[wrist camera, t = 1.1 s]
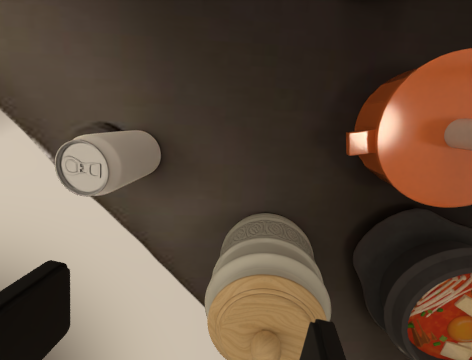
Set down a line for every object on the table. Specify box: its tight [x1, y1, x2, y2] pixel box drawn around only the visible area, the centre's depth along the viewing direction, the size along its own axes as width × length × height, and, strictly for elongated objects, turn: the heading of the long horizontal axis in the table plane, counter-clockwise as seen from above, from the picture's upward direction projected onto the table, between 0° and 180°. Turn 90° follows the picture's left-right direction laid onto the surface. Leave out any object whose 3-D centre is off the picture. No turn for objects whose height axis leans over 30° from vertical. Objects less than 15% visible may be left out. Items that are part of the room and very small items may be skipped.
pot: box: [346, 69, 416, 183], centre depth 28 cm, size 14×19×8 cm
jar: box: [205, 213, 331, 360], centre depth 29 cm, size 13×13×18 cm
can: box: [55, 130, 161, 196], centre depth 30 cm, size 6×6×12 cm
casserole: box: [353, 208, 472, 360], centre depth 31 cm, size 25×19×8 cm
